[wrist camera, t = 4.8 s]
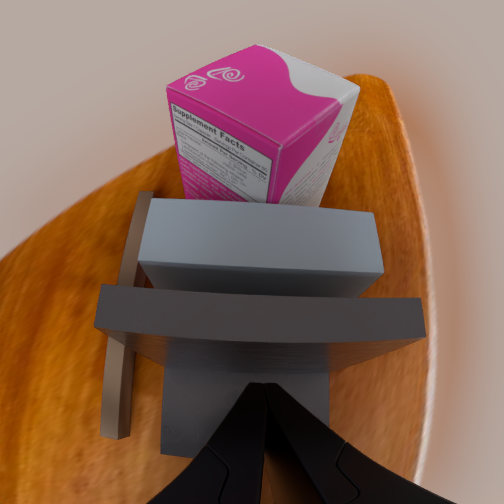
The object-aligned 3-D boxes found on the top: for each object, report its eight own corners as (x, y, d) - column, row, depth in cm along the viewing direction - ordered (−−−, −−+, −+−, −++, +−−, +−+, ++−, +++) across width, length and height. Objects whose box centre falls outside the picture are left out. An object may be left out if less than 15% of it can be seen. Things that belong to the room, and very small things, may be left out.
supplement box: (246, 184, 22) (259, 39, 12) (311, 231, 21) (370, 89, 11) (188, 234, 20) (161, 80, 10) (257, 291, 18) (292, 151, 8)
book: (315, 332, 18) (384, 272, 10) (179, 327, 17) (137, 260, 9) (314, 295, 19) (373, 212, 11) (183, 288, 18) (151, 198, 10)
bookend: (325, 455, 14) (425, 500, 5) (162, 452, 14) (85, 504, 5) (325, 353, 17) (420, 297, 8) (168, 347, 16) (101, 284, 7)
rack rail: (129, 436, 14) (117, 440, 12) (113, 432, 14) (100, 435, 12) (159, 209, 21) (153, 191, 19) (145, 208, 21) (139, 191, 19)
